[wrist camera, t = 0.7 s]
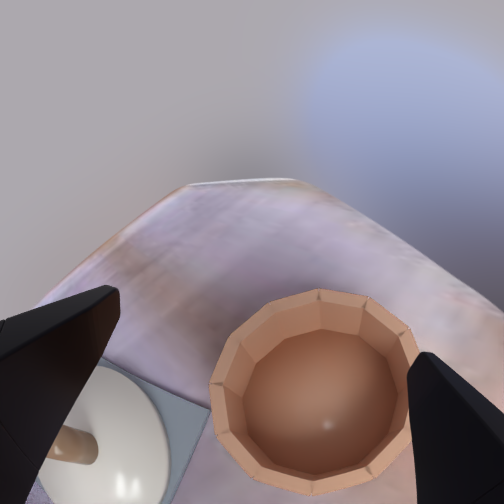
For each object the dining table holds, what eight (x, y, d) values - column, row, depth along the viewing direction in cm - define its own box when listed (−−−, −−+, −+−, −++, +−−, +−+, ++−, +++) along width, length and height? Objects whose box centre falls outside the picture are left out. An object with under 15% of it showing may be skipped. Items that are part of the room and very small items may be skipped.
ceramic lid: (134, 562, 13) (91, 574, 9) (24, 464, 20) (-16, 453, 16) (201, 412, 23) (167, 397, 18) (75, 346, 30) (39, 321, 25)
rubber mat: (140, 567, 13) (137, 568, 13) (24, 465, 21) (21, 464, 20) (211, 410, 23) (209, 409, 23) (77, 342, 31) (74, 340, 30)
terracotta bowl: (377, 497, 15) (393, 509, 11) (211, 452, 21) (179, 448, 16) (416, 338, 23) (436, 307, 18) (268, 311, 28) (253, 276, 24)
